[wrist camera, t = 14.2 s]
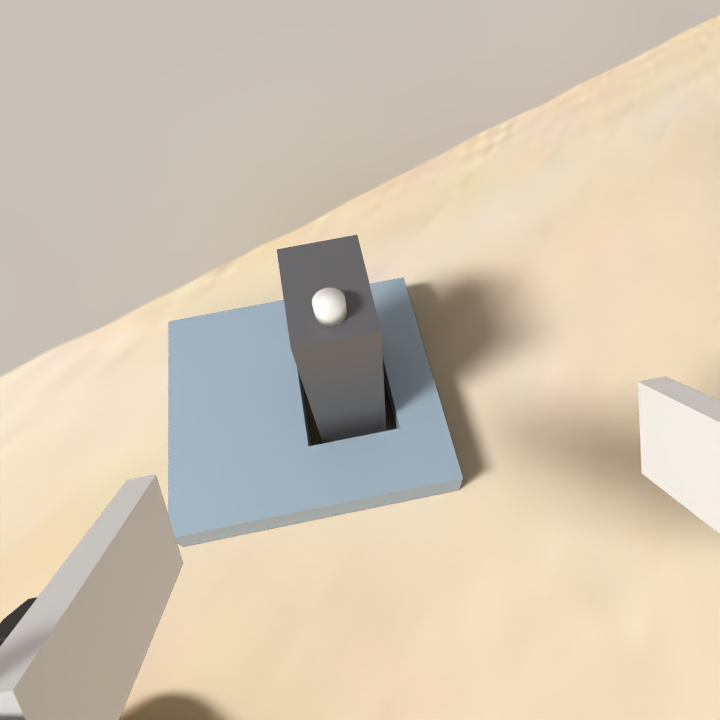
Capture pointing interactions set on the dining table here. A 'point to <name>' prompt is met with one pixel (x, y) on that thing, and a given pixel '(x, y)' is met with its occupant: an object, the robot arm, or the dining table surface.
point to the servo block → (335, 336)
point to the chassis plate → (291, 427)
